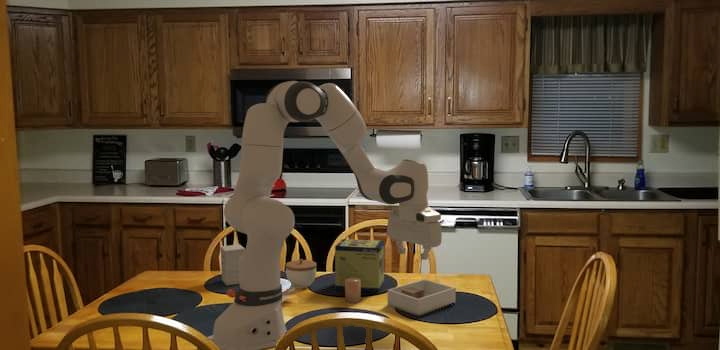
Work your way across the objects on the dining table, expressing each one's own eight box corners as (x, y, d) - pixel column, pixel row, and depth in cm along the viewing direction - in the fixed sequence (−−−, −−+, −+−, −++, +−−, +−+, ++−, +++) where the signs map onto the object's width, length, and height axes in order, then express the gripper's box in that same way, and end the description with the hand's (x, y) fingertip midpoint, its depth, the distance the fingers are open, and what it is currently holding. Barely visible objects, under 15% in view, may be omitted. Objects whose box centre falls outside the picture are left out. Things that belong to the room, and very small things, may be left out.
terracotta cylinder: (352, 304, 203) (352, 283, 202) (342, 301, 207) (341, 280, 206) (363, 301, 206) (363, 280, 205) (353, 297, 210) (353, 277, 209)
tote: (455, 303, 204) (455, 287, 203) (418, 315, 193) (418, 299, 192) (424, 293, 214) (424, 279, 213) (387, 305, 202) (387, 289, 202)
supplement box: (241, 277, 234) (240, 243, 232) (246, 283, 227) (245, 248, 225) (221, 280, 231) (220, 245, 229) (225, 285, 224) (224, 250, 222)
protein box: (379, 292, 215) (379, 247, 213) (334, 290, 218) (334, 245, 216) (384, 283, 225) (384, 240, 223) (341, 281, 229) (341, 238, 227)
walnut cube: (413, 308, 197) (413, 293, 196) (401, 305, 201) (401, 289, 200) (424, 305, 200) (424, 289, 200) (412, 301, 204) (412, 286, 203)
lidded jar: (323, 284, 225) (322, 257, 224) (304, 292, 216) (303, 264, 215) (298, 279, 231) (298, 253, 230) (279, 287, 222) (279, 260, 221)
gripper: (382, 208, 202) (382, 251, 204) (430, 218, 187) (430, 264, 189) (396, 206, 206) (396, 248, 208) (445, 215, 191) (444, 260, 193)
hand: (412, 256), depth 198 cm, fingers open, 8 cm apart
